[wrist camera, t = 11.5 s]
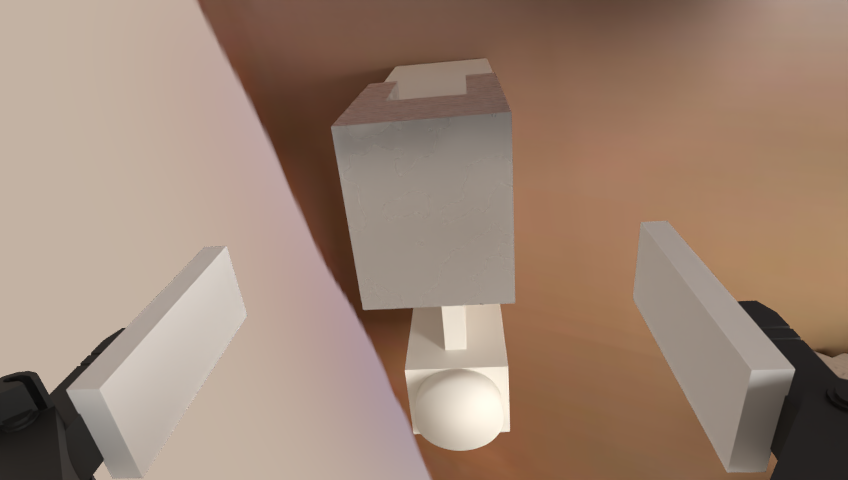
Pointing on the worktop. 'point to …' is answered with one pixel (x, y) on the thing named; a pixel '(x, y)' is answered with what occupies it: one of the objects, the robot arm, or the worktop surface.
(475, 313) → the white blocky piece
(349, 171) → the pale grey block
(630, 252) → the worktop surface
